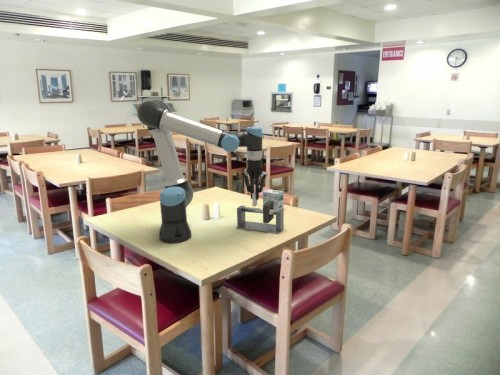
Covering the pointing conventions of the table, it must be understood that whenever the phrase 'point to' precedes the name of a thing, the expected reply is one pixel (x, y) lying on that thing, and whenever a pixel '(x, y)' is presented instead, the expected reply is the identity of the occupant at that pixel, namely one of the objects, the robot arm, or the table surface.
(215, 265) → the table surface
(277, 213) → the pipe rig
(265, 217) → the ring
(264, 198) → the light bulb box
